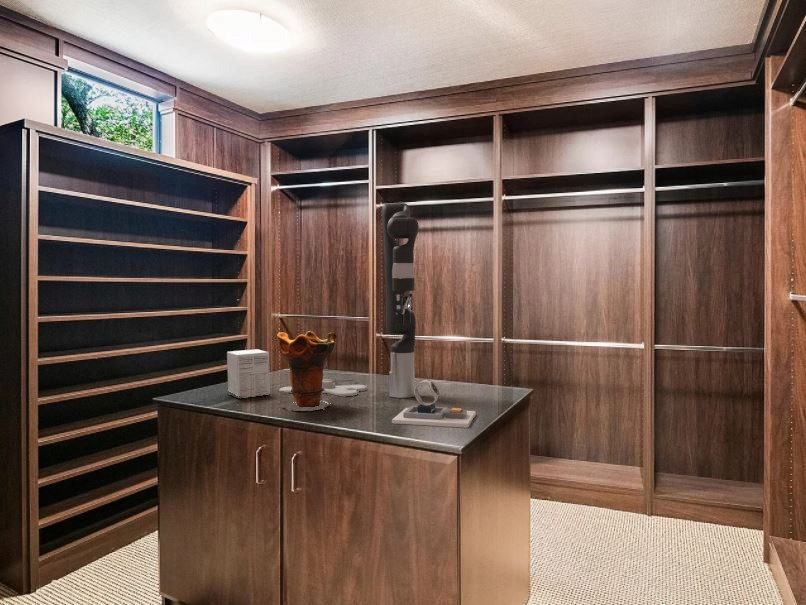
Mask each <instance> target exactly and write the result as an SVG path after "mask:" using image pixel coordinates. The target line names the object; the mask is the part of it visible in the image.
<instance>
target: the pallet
mask: <svg viewBox="0 0 806 605" xmlns="http://www.w3.org/2000/svg"><path fill="white" fill-rule="evenodd" d="M418 406H419V405H411V406H410V407H405V408H404V409H403V410H402V411H400V412H399V413H398V414H397V415H396V416H395V417H393V418H392V419H391V424H393V425H394V424H398V425H410V426H411V425H412V426H413V425H414V426H415V425H416V426H432V427H445V428H446V427H449V428H453V427H454V428H465V429H468V428H469V426H470V425H471V423H472V422H473V421H474V419H473V418H475V417H476V414H477V410H467V409H462V413H451V409H452V408H448V407H443V406H442V407H441V406H435V414H432V413H418Z"/></svg>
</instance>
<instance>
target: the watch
mask: <svg viewBox="0 0 806 605" xmlns="http://www.w3.org/2000/svg"><path fill="white" fill-rule="evenodd" d="M423 383H426V385H427V388H428V391H429V393H430V394H431V396H433V398H434V399H433V402H425V401H423V398H422V397H421V396H420V393H419V391H418V387H419V385H420V384H423ZM414 394H415V396H414V397H415V399H416V401H417V402H418V404H419V405H417V406H418V413H432V414H435V407H436V401H438V399H439V395H440V391H439V388H438V386H437V385H436V383H435V382H434V381H431V380H427V379H423V380H421V381H420V382H418V383H417V384H415V389H414Z"/></svg>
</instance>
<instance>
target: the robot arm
mask: <svg viewBox="0 0 806 605" xmlns="http://www.w3.org/2000/svg"><path fill="white" fill-rule="evenodd" d="M381 222H382V233H383V234H382V235H383V246H384V249H383V250H384V275H385V277H384V278H385V288H386V289H385V292H386V293H385V294H386V297H385V298H386V299H385V300H386V302H385V303H386V304H385V326H386V330H387V333H388V334H389V335H392V336H396V335H397V336H399V335H402V337H401V338H400V339H399V340H397V341H396V342H394V343H392V344H391V345H390V371H389V373H388V374H389V375H388V376H389V378H388V380H389V381H388V382H389V383H388V384H389V386H388V387H389V397H392V398H396V399H399V398H400V399H407V398H413V397H415V394H414V389H415V386H416V384H415V383H416V382H415V380H416V379H415V378H416V377H415V344H416V328H417V327H416V326H417V325H416V316H415V313H414V312H413V309H414V308H413V293H410V292H414V291H415V288H416V287H415V286H416V285H415V284H416V282H415V279H416V277H415V265H414V263H415V262H414V260H415V259H414V258H415V257H414V254H415V253H414V251H415V244H416V241H417V240H416V239H417V236H418V233H419V222H418V220H417V219H416V218H415V217H411V209H410V206H409V205H408V204H407V203H405V202H393V203H392V202H389V203H387V202H386V203H383V204H382V207H381ZM398 239H403V240H404V239H405V240H406V239H408V240H407V241H406V242H405V243H403V244H401V245H399V244H398V242H397V240H398Z"/></svg>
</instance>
